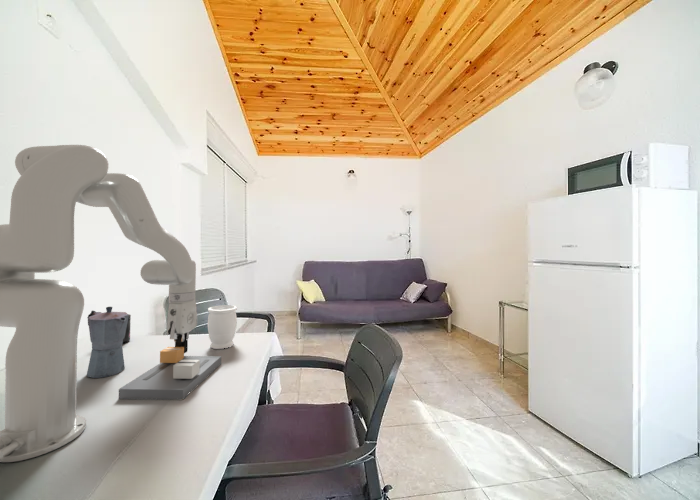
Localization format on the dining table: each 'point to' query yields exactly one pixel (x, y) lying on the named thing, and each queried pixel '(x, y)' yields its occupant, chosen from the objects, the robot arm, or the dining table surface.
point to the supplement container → (127, 331)
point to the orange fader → (171, 354)
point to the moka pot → (106, 342)
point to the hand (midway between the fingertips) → (181, 352)
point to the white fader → (186, 369)
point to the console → (168, 381)
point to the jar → (222, 326)
